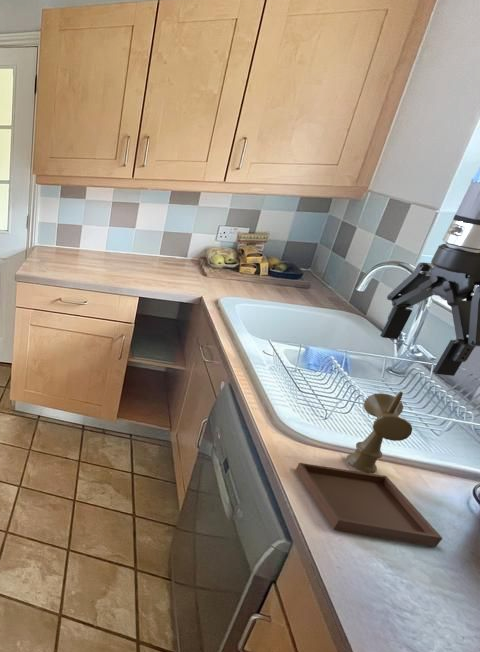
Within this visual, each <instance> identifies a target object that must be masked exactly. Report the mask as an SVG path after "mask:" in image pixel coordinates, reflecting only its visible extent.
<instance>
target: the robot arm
mask: <svg viewBox="0 0 480 652" xmlns="http://www.w3.org/2000/svg"><path fill="white" fill-rule="evenodd" d="M442 242H443V243H442V244H439V245H438V247H437V249H436V251H435V252H434V255H433V256H432V258H431V260H430V262H424V261H423V262H422V261H421V262H419V263H418V264H417V265H416V267H415V268H414V270H413V272H411V273H410V274H409V275H408V276H407V277H406V278H405V279H403V281H402V282H400V284H399V285H397V286H396V287H394V289H393V290H392V291H391V292H389V294H387V296H386V300H388V301H391V305H392V307H391V310H390V312H389V313H388V317H387V321H386V323H385V325H384V327H383V329H382V331H381V333H380V335H379V336H380V337H381V338H382V339H383V338H384V339H393V340H394V339H395V340H398V339H399V338H400V336H401V334H402V332H403V330H404V329H405V326H406V324H407V322H408V320H409V318H410V316H411V315H412V313H413V309H414V306H415V305H417V304H418V303H421V302H422V301H423V302H424V301H425V300H426V299H429V298H431V297H432V296H438V297H440V298H441V299H442V300H444V301H446V304H447V305H448V306H449V307H450V309H451V315H452V320H453V326H454V333H455V338H456V339H450V340H449V342H448V344H447V346H446V347H445V349H444V351H443V353H442V354H441V356H440V357H439V360H438V361H437V363H436V365H435V366H434V368H433V370H432V373H433V374H435V375H442V376H449V377H450V376H451V377H455V375H456V374H457V372H458V370H459V369H460V367H461V365H462V363H465V362H466V361H468V359H469V357H470V356H471V354H472V352H473V351H474V350H475V348H476V347H480V167H479V168H478V170H477V171H476V172H475V175H474V176H473V177H472V178H471V179H470V183H469V185H468V188H467V189H466V192H465V194H464V196H463V198H462V200H461V202H460V204H459V206H458V208H457V210H456V212H455V214H454V217H453V219H452V221H451V223H450V224H449V226H448V228H447V229H446V231H445V233H444V235H443V238H442ZM467 336H468V337H467Z"/></svg>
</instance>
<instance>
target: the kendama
mask: <svg viewBox="0 0 480 652" xmlns="http://www.w3.org/2000/svg"><path fill="white" fill-rule="evenodd" d="M403 393H404V392H403V391H399V392H398V393H396V395H392V394H388V393H380V392H379V393H373V394H371V395H369V396H368V397H367V398H365V400H364V403H363V408H364V411H365V412H366V413H367V414H369V415H370V416H373V417H375V420H374V421H373V424H372V431H371V432H370V433H369V435H368V436H367V437H366V438H365V439H364V440H363V441H358V442H356V444H355V448H356V449H355V450H354V452H353V453H350V454H349V453H348V455H346V461H347V463H348V465H350V466H351V467H352V468H354V469H356V470H357V471H359V472H364V473H370V474H376V473H377V470H378V467H377V465H376V464H377V461H378V459H381V458H383V452H382V450H381V449H382V443H383V440H384V439H385V440H388V441H393V442H401V441H404V440H406V439H408V438H409V437H410V436H411V435H412V432H413V426H412V423H410V422H409V421H407V420H406V419H405V418H403V417H401V416H400V415H401V414H402V413H403V410H404V404H403V402H402V401H401V399H402V398H403Z"/></svg>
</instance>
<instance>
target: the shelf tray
mask: <svg viewBox="0 0 480 652" xmlns="http://www.w3.org/2000/svg"><path fill="white" fill-rule="evenodd" d="M294 472H295V473H296V475H297V477H298V478H299V479H300V481H301V482H302V485H304V487H305V489H306V491H307V492H308V493H309V495H310V496H311V498H312V499H313V501H314V502H315V504H316V505H317V507H318V508H319V510H320V511H321V513H322V515H323V516H324V518H325V519H326V521H327V522H328V524H329V526H331V528H332V529H333V530H334V531H340V532H346V533H352V534H358V535H362V536H363V535H364V536H369V537H373V538H374V537H375V538H380V539H386V540H392V541H396V542H397V541H398V542H404V543H409V544H415V545H420V546H424V547H425V546H426V547H431V548H437V547H438V545H439V544H440V543H441V541H442V540H443V537H442V536H441V535H440V533H439V532H438V531H437V530H436V529H435V527H434V526H433V525H431V523H430V522H429V521H428V520H427V519H426V518H425V517H424V516H423V514H422V513H421V512H420V511H419V510H418V509H417V508H416V507H415V506H414V504H413V503H411V502H410V500H409V499H408V498H407V497H406V496H405V495H404V494H403V493H402V491H401V490H400V489H399V488H398V487H397V486H396V485H395V483H393V482H392V480H391V479H390V478H389V477H388V476H387V475H383V474H376V473H366V472H362V471H358V470H357V471H356V470H350V469H343V468H338V467H337V468H336V467H331V466H323V465H317V464H312V463H303V462H298V464H297V465H296V467H295V470H294Z"/></svg>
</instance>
